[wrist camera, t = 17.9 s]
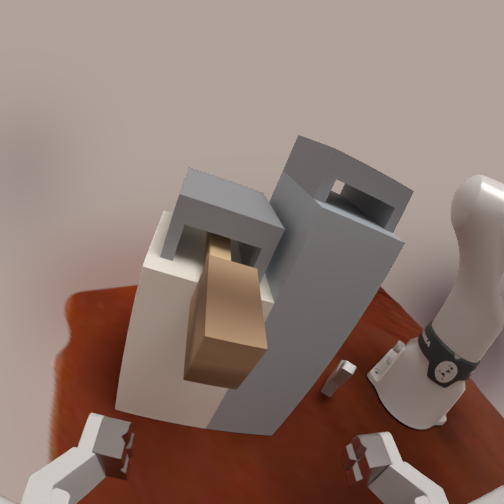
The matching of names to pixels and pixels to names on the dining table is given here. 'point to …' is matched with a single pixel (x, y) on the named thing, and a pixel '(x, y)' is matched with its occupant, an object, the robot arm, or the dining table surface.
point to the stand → (262, 285)
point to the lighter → (338, 377)
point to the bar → (224, 320)
